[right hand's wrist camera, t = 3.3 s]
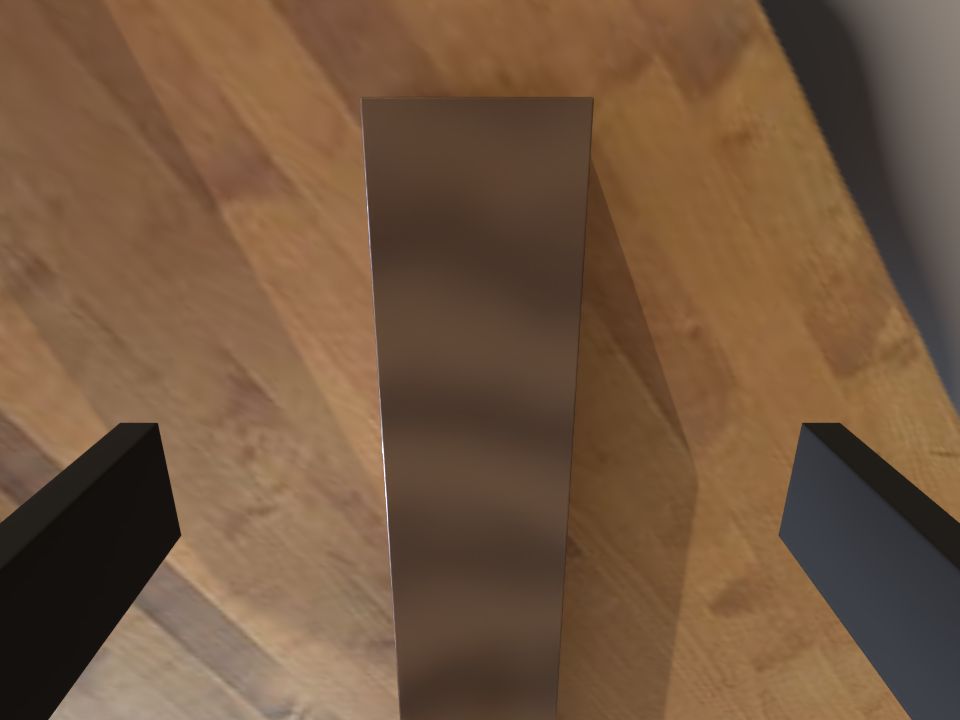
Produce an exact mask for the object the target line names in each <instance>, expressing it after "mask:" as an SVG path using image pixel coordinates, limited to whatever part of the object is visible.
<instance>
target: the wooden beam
mask: <svg viewBox="0 0 960 720" xmlns="http://www.w3.org/2000/svg"><path fill="white" fill-rule="evenodd" d="M593 104H594V99H593V98H592V97H361V98H360V106H361V122H362V137H363V153H364V168H365V184H366V199H367V215H368V230H369V246H370V261H371V277H372V292H373V308H374V323H375V339H376V355H377V370H378V386H379V401H380V417H381V432H382V448H383V463H384V479H385V494H386V510H387V525H388V541H389V556H390V572H391V587H392V603H393V618H394V634H395V649H396V665H397V680H398V696H399V712H400V720H556V709H557V693H558V677H559V660H560V644H561V628H562V611H563V595H564V579H565V562H566V546H567V530H568V513H569V497H570V480H571V464H572V448H573V431H574V415H575V399H576V382H577V366H578V350H579V333H580V317H581V301H582V284H583V268H584V252H585V235H586V219H587V202H588V186H589V170H590V153H591V137H592V121H593Z"/></svg>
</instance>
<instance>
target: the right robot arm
mask: <svg viewBox="0 0 960 720" xmlns="http://www.w3.org/2000/svg"><path fill="white" fill-rule="evenodd" d="M180 537H181V532H180V527H179V522H178V518H177V513H176V508H175V503H174V498H173V494H172V489H171V484H170V479H169V474H168V470H167V465H166V460H165V455H164V451H163V446H162V441H161V436H160V431H159V427H158V423H119V424H118V425H117V426H116V427H115V428H114V429H112V430H111V431H110V432H109V433H108V434H106V435H105V436H104V437H103V438H102V439H100V440H99V441H98V442H97V443H96V444H94V445H93V446H92V447H91V448H90V449H88V450H87V451H86V452H85V453H84V454H82V455H81V456H80V457H79V458H78V459H76V460H75V461H74V462H73V463H72V464H71V465H69V466H68V467H67V468H66V469H65V470H63V471H62V472H61V473H60V474H59V475H57V476H56V477H55V478H54V479H53V480H51V481H50V482H49V483H48V484H47V485H45V486H44V487H43V488H42V489H41V490H39V491H38V492H37V493H36V494H35V495H34V496H32V497H31V498H30V499H29V500H28V501H26V502H25V503H24V504H23V505H22V506H20V507H19V508H18V509H17V510H16V511H14V512H13V513H12V514H11V515H10V516H8V517H7V518H6V519H5V520H4V521H2V522H1V523H0V720H48V719H49V718H50V717H51V715H52V714H53V712H54V711H55V710H56V708H57V707H58V706H59V704H60V703H61V701H62V700H63V699H64V697H65V696H66V694H67V693H68V692H69V690H70V689H71V688H72V686H73V685H74V683H75V682H76V681H77V679H78V678H79V676H80V675H81V674H82V672H83V671H84V670H85V668H86V667H87V665H88V664H89V663H90V661H91V660H92V658H93V657H94V656H95V654H96V653H97V652H98V650H99V649H100V647H101V646H102V645H103V643H104V642H105V640H106V639H107V638H108V636H109V635H110V634H111V632H112V631H113V629H114V628H115V627H116V625H117V624H118V622H119V621H120V620H121V618H122V617H123V615H124V614H125V613H126V611H127V610H128V609H129V607H130V606H131V604H132V603H133V602H134V600H135V599H136V597H137V596H138V595H139V593H140V592H141V591H142V589H143V588H144V586H145V585H146V584H147V582H148V581H149V579H150V578H151V577H152V575H153V574H154V573H155V571H156V570H157V568H158V567H159V566H160V564H161V563H162V561H163V560H164V559H165V557H166V556H167V555H168V553H169V552H170V550H171V549H172V548H173V546H174V545H175V543H176V542H177V541H178V539H179V538H180ZM779 537H780V538H781V539H782V541H783V542H784V543H785V545H786V546H787V548H788V549H789V550H790V552H791V553H792V555H793V556H794V557H795V559H796V560H797V561H798V563H799V564H800V566H801V567H802V568H803V570H804V571H805V573H806V574H807V575H808V577H809V578H810V579H811V581H812V582H813V584H814V585H815V586H816V588H817V589H818V591H819V592H820V593H821V595H822V596H823V597H824V599H825V600H826V602H827V603H828V604H829V606H830V607H831V609H832V610H833V611H834V613H835V614H836V615H837V617H838V618H839V620H840V621H841V622H842V624H843V625H844V627H845V628H846V629H847V631H848V632H849V634H850V635H851V636H852V638H853V639H854V640H855V642H856V643H857V645H858V646H859V647H860V649H861V650H862V652H863V653H864V654H865V656H866V657H867V658H868V660H869V661H870V663H871V664H872V665H873V667H874V668H875V670H876V671H877V672H878V674H879V675H880V676H881V678H882V679H883V681H884V682H885V683H886V685H887V686H888V688H889V689H890V690H891V692H892V693H893V694H894V696H895V697H896V699H897V700H898V701H899V703H900V704H901V706H902V707H903V708H904V710H905V711H906V712H907V714H908V715H909V717H910V718H911V719H912V720H960V523H959V522H958V521H956V520H955V519H954V518H953V517H952V516H950V515H949V514H948V513H947V512H946V511H944V510H943V509H942V508H941V507H940V506H938V505H937V504H936V503H935V502H934V501H932V500H931V499H930V498H929V497H928V496H926V495H925V494H924V493H923V492H922V491H921V490H919V489H918V488H917V487H916V486H915V485H913V484H912V483H911V482H910V481H909V480H907V479H906V478H905V477H904V476H903V475H901V474H900V473H899V472H898V471H897V470H895V469H894V468H893V467H892V466H891V465H889V464H888V463H887V462H886V461H885V460H884V459H882V458H881V457H880V456H879V455H878V454H876V453H875V452H874V451H873V450H872V449H870V448H869V447H868V446H867V445H866V444H864V443H863V442H862V441H861V440H860V439H858V438H857V437H856V436H855V435H854V434H852V433H851V432H850V431H849V430H848V429H846V428H845V427H844V426H843V425H842V424H841V423H802V427H801V431H800V436H799V441H798V446H797V450H796V455H795V460H794V465H793V470H792V474H791V479H790V484H789V489H788V494H787V498H786V503H785V508H784V513H783V518H782V522H781V527H780V532H779Z"/></svg>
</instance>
